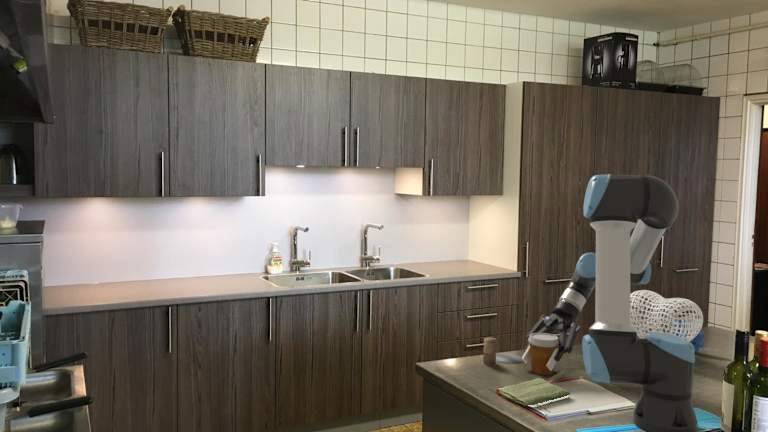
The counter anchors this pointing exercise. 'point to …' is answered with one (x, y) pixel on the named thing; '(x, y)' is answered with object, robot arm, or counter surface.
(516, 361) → the board
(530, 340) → the disposable coffee cup
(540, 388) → the washcloth
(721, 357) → the counter surface
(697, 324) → the heart
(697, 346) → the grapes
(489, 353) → the walnut peg
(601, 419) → the counter surface
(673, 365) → the robot arm
